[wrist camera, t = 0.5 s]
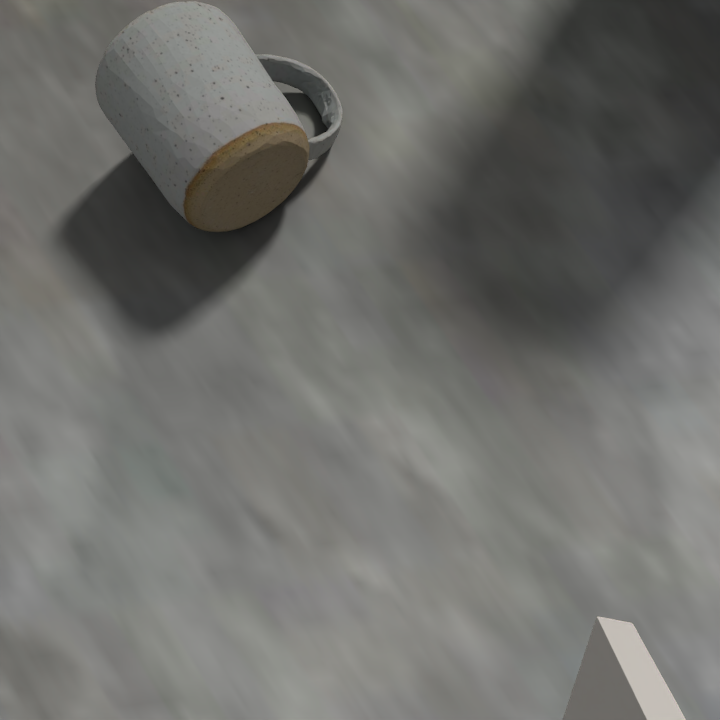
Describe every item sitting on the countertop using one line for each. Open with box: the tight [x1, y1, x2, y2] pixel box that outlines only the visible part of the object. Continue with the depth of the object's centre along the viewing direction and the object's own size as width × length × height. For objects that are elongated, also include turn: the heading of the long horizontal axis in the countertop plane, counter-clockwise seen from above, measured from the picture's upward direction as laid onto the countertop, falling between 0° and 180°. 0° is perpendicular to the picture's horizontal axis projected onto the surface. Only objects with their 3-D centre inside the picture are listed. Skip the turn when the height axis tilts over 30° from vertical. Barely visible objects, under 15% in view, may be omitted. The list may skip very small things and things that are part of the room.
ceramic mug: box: [95, 1, 343, 232], centre depth 33 cm, size 11×8×8 cm
